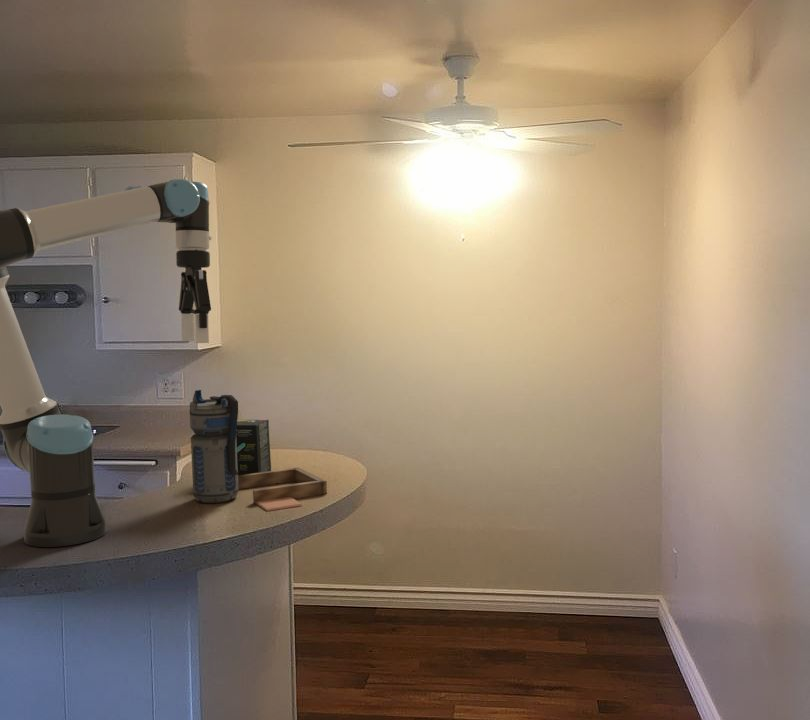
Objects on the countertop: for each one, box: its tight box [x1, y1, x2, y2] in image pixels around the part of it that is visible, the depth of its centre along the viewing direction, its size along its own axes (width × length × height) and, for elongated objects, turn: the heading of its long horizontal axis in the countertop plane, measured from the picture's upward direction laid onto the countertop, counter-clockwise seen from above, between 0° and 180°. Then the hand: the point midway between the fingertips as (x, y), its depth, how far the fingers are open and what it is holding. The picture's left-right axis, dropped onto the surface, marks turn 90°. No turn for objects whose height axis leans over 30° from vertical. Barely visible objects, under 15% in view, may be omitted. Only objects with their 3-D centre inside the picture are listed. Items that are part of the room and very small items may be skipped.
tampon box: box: [236, 419, 272, 475], centre depth 211 cm, size 11×9×15 cm
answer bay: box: [238, 467, 328, 505], centre depth 197 cm, size 17×18×3 cm
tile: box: [256, 497, 303, 512], centre depth 184 cm, size 8×8×1 cm
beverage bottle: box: [189, 389, 239, 504], centre depth 189 cm, size 10×13×25 cm
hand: (194, 342), depth 193 cm, fingers open, 13 cm apart
